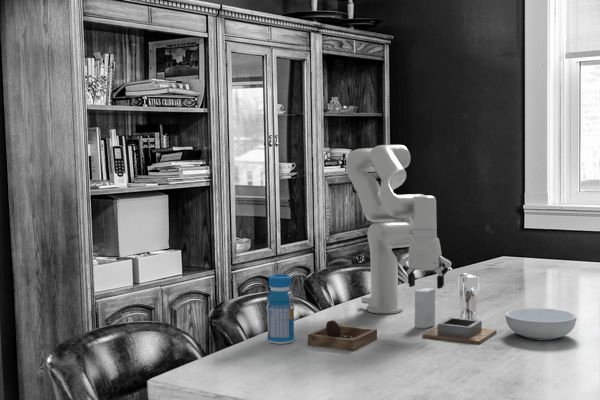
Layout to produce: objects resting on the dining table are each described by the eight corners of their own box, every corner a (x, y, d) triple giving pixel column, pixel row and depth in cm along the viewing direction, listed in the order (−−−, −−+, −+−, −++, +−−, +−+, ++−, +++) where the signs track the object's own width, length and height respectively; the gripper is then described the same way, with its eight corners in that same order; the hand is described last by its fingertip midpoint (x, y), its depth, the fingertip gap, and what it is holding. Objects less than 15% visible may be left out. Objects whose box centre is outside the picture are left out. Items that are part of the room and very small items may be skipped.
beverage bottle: (274, 346, 244) (273, 279, 242) (262, 340, 252) (261, 275, 250) (299, 342, 248) (298, 276, 246) (287, 336, 255) (286, 272, 254)
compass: (358, 342, 247) (357, 318, 247) (337, 346, 243) (337, 322, 242) (341, 337, 254) (341, 314, 253) (321, 341, 249) (320, 317, 249)
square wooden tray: (307, 344, 245) (307, 334, 245) (332, 333, 258) (332, 324, 258) (353, 350, 237) (353, 340, 237) (377, 339, 250) (377, 329, 250)
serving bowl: (576, 330, 257) (576, 309, 257) (575, 347, 238) (576, 323, 237) (508, 326, 264) (508, 305, 264) (502, 342, 244) (502, 319, 244)
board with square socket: (422, 337, 252) (422, 324, 251) (441, 326, 265) (441, 314, 265) (479, 344, 242) (479, 331, 242) (496, 332, 256) (496, 320, 256)
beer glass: (479, 322, 271) (479, 277, 270) (457, 321, 272) (457, 276, 271) (479, 317, 278) (479, 273, 277) (458, 316, 279) (458, 273, 278)
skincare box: (423, 323, 270) (423, 287, 269) (435, 325, 267) (435, 288, 266) (413, 327, 265) (413, 290, 264) (425, 329, 262) (425, 291, 261)
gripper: (395, 234, 265) (396, 287, 266) (446, 235, 256) (447, 290, 257) (404, 232, 271) (405, 284, 272) (454, 233, 262) (455, 287, 263)
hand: (425, 287), depth 264 cm, fingers open, 9 cm apart
